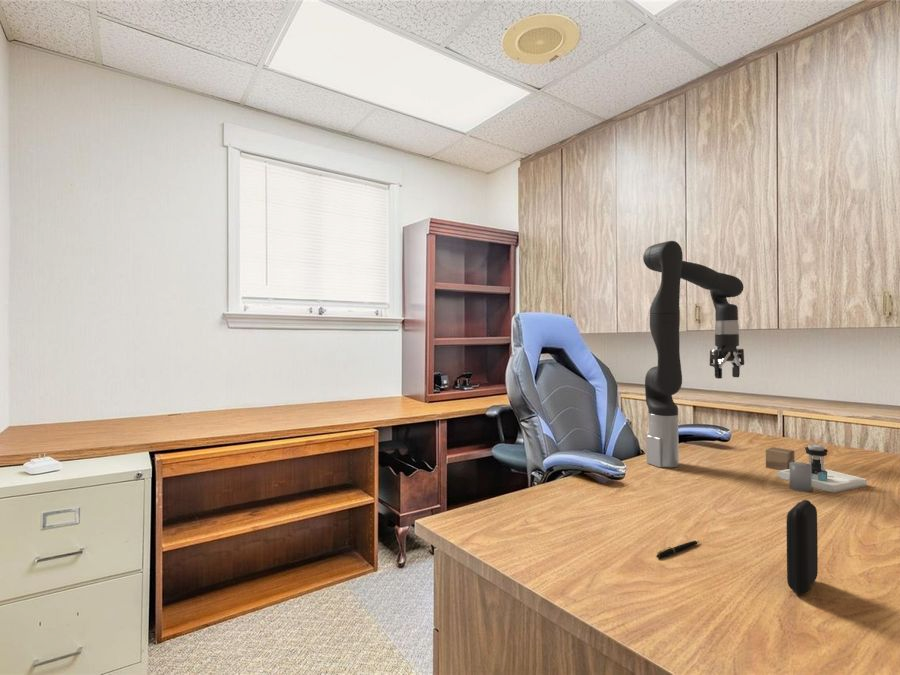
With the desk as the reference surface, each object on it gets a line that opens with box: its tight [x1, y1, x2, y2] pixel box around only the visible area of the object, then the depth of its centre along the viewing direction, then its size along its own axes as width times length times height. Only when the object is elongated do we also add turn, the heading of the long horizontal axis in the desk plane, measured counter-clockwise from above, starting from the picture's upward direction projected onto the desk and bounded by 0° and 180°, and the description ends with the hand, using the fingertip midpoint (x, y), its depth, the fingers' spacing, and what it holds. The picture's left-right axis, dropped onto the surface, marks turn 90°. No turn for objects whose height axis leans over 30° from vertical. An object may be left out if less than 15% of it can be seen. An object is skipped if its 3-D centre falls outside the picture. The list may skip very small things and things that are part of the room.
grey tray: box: [777, 468, 868, 494], centre depth 137 cm, size 15×15×2 cm
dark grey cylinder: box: [789, 461, 813, 493], centre depth 131 cm, size 5×5×7 cm
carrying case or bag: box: [786, 499, 819, 596], centre depth 82 cm, size 11×3×15 cm, turn 131°
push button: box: [804, 443, 834, 481], centre depth 137 cm, size 7×5×10 cm
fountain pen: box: [655, 540, 700, 559], centre depth 96 cm, size 14×1×2 cm, turn 119°
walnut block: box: [765, 446, 796, 471], centre depth 152 cm, size 6×6×6 cm
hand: (727, 377), depth 168 cm, fingers open, 8 cm apart
